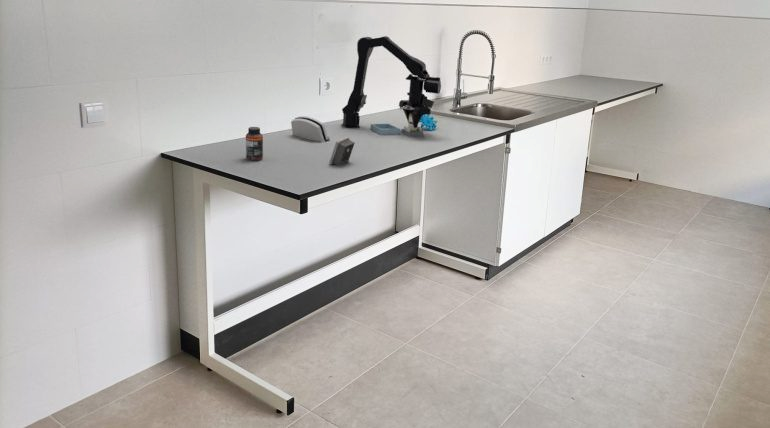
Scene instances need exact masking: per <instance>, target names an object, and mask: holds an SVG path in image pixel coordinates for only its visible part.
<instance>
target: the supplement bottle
mask: <svg viewBox="0 0 770 428" xmlns="http://www.w3.org/2000/svg"><path fill="white" fill-rule="evenodd" d="M263 138H264V137H263V134H262V133H261V129H260V127H258V126H249V127H248V132H247V133H246V134H245V159H246V160H248V161H251V162H252V161H254V162H259V161H261V160H263V158H264V139H263Z"/></svg>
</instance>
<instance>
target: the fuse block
mask: <svg viewBox="0 0 770 428" xmlns="http://www.w3.org/2000/svg"><path fill="white" fill-rule="evenodd" d="M422 129H423V128H421V126H418V127H417V131H410V130H411V128H408V126H403V128H401V134H402V135H404V136H406V137H408V138H416V137H417V138H418V137H419V138H420V137H424V131H422Z"/></svg>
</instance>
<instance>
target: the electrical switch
mask: <svg viewBox="0 0 770 428" xmlns="http://www.w3.org/2000/svg"><path fill="white" fill-rule="evenodd" d="M355 144H356V143H355V142H354V141H352V140H351V139H350V137H349V136H345V137H343V138H340V139H338V140H336V141H335V144H334V148H333V150H332V153H331V156H330V159H329V164H330V165H333V164H334V165H336V166H338V167H340V166H342V165H344V164H346V163H347V162H349V161H350V158H351V156H352V153H353V152H352V151H353V150H354V146H355Z"/></svg>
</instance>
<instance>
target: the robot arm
mask: <svg viewBox="0 0 770 428" xmlns="http://www.w3.org/2000/svg"><path fill="white" fill-rule="evenodd" d="M378 47H383V48H384V49H386V50H387V51H388V52H389V53H390V54H392V56H394V57H396V58H397V59H398V60H399V61H400V62H401V63H403V64H404V66H405V67H406V69H407V70H408V72H409V74H408V76H407V77H405V80H408V81H409V92H407V94H406V95H407V96H408V99H403V100H402V99H401V100H400V101H399V103H398V107H400V108H402V111H403V113H404V116H405V117H406V119H407V123H408V124H409V114H412V120H413V125H414V128H417V126H418V125H419V123H420V122H419V121H420V119H421V117H422V116H424V115H427V114H430V115H431V113H432V110H431V109H432V108H433V106H434V103H435V101H433V100H431V99H428V96H426V95H425V94H424V93H423V90H424V91H425V93H429V94H437V95H439V94H440V93H441V89H442V82H441V81H442V80H441V77H440V76H437V77H434V76H430V74H429V72H428V70H427V65H426V63H425V62H424V61H422V60H420V59H419V58H416V57H415V56H412V55H410V54H409V53H408V52H407V51H406V50H404V49H403V48H401V47H400V46H399V45H398V44H397V43H396V42H395V41H393V40H392V39H391V38H390V37H389V36H387V35H385V36H380V37H374V38H373V37H370V36H363V37H360V38H359V39H358V40H357V43H356V49H357V50H356V51H357V56H358V59H357V65H356V71H355V78H354V83H353V88H352V89H353V90H352V91H351V93H350V96H349V97H348V99H347V100H348V101H347V104H346V105H345V106H344V107H342V109H341V111H342V114H343V119H342V123H341V126H343V127H345V128H346V129H348V128H349V129H351V128H360V127H361V126H360V113H359V112H360V111H361V109H362V108H364V106H365V105H366V103H367V102H366V101H367V97H368V95H367V94H365V92H364V89H365V83H366V82H365V81H366V77H367V72H368V71H367V70H368V66H369V65H368V64H369V59H370V57H371V55H372V53H373V51H374V48H378ZM418 127H419V126H418Z"/></svg>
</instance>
